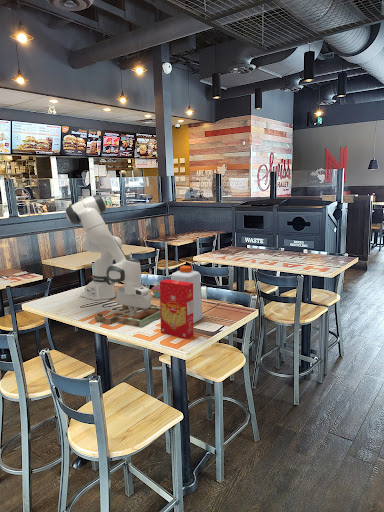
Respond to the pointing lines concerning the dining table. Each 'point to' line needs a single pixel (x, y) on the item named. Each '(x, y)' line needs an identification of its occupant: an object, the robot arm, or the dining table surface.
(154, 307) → the trap lane
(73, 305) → the dining table surface
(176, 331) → the food packaging
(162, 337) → the dining table surface
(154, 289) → the cupcake
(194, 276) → the plastic bottle
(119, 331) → the dining table surface
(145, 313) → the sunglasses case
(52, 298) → the dining table surface
